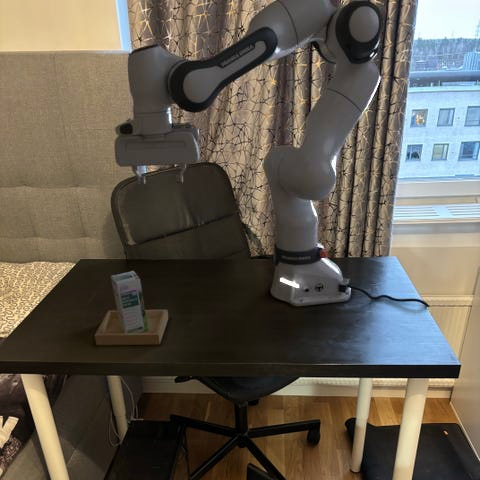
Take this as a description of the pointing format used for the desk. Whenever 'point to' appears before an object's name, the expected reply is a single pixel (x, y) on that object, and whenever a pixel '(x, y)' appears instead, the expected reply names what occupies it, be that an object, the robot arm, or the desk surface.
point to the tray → (115, 335)
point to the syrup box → (129, 302)
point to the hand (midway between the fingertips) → (161, 183)
